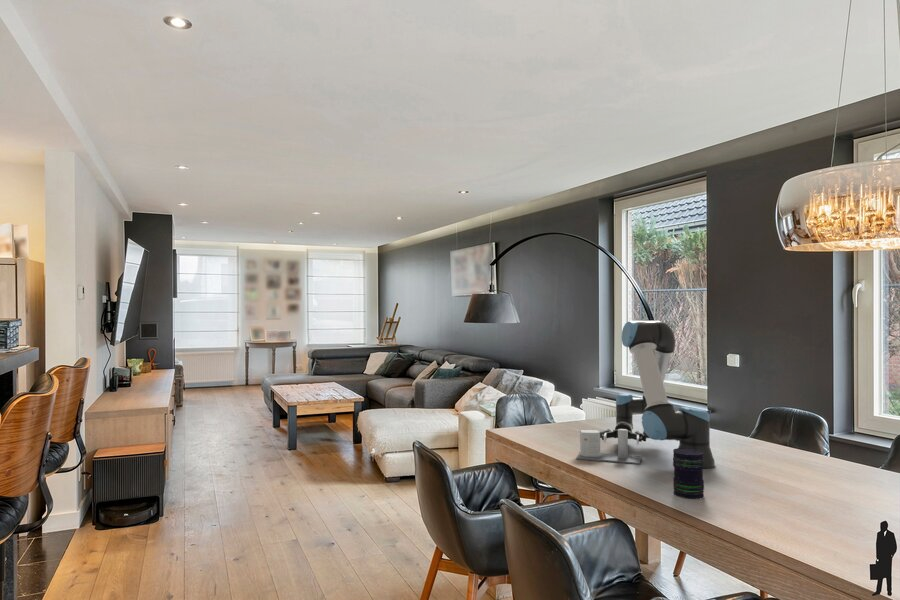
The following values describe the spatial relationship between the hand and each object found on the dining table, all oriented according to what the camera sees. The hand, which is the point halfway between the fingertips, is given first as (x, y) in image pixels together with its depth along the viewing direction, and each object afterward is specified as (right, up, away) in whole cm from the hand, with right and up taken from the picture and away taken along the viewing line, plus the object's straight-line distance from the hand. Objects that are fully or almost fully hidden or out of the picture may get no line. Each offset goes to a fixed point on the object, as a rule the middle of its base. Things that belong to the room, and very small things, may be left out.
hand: (620, 440), depth 247 cm
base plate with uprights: (-5, -8, +3) cm, 10 cm away
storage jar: (+9, -8, -47) cm, 49 cm away
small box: (-12, -8, +5) cm, 15 cm away
